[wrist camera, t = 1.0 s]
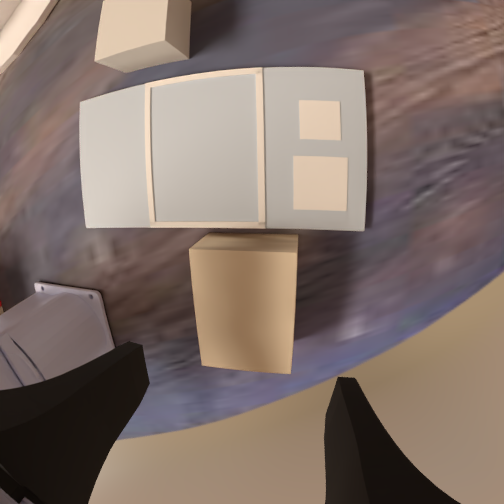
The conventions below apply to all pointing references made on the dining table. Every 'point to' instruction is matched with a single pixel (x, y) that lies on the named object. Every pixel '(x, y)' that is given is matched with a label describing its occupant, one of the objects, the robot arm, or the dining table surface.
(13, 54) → the white wedge on plate
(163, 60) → the beige maple block
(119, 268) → the dining table surface
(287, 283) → the birch block
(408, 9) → the dining table surface
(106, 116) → the board
